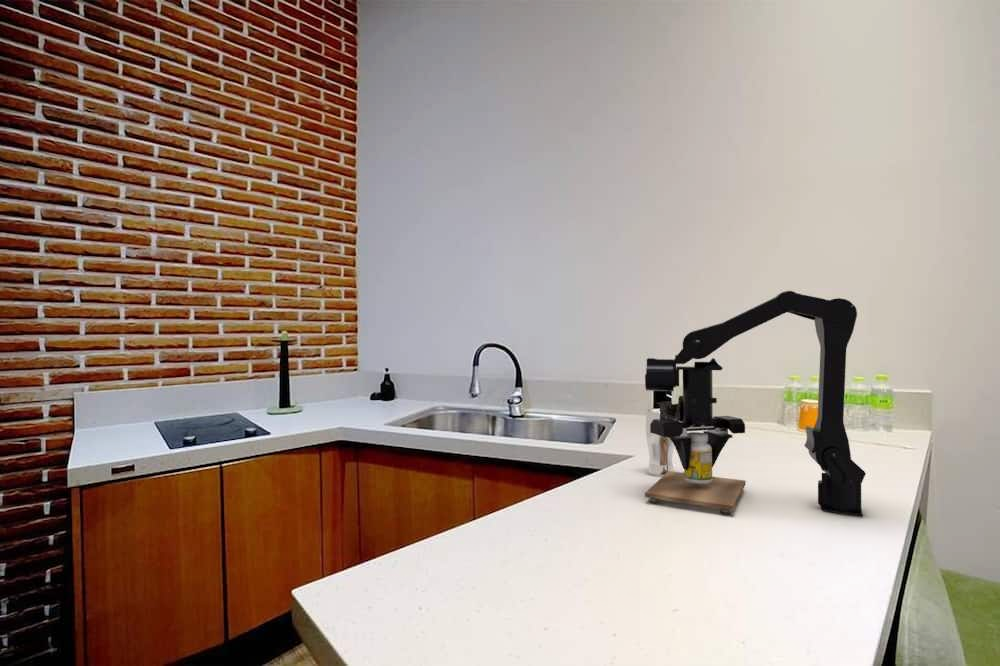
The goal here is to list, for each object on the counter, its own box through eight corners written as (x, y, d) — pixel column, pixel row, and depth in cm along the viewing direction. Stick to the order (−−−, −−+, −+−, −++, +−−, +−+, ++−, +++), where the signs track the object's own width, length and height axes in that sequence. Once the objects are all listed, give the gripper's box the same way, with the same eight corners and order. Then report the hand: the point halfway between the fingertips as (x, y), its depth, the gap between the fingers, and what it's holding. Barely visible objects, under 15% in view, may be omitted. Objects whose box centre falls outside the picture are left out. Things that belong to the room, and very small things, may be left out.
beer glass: (680, 477, 125) (680, 412, 125) (649, 477, 125) (649, 412, 125) (671, 469, 132) (671, 408, 132) (642, 469, 132) (642, 408, 132)
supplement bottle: (717, 483, 108) (717, 435, 108) (695, 485, 107) (695, 436, 107) (700, 476, 114) (700, 430, 114) (678, 478, 112) (678, 432, 112)
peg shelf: (745, 490, 115) (745, 480, 115) (733, 517, 98) (733, 506, 98) (668, 479, 123) (668, 471, 123) (644, 503, 106) (644, 492, 106)
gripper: (712, 387, 121) (712, 457, 120) (636, 389, 116) (636, 462, 116) (746, 392, 110) (747, 469, 110) (665, 394, 105) (665, 475, 105)
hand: (697, 468), depth 110 cm, fingers closed on supplement bottle, 5 cm apart
